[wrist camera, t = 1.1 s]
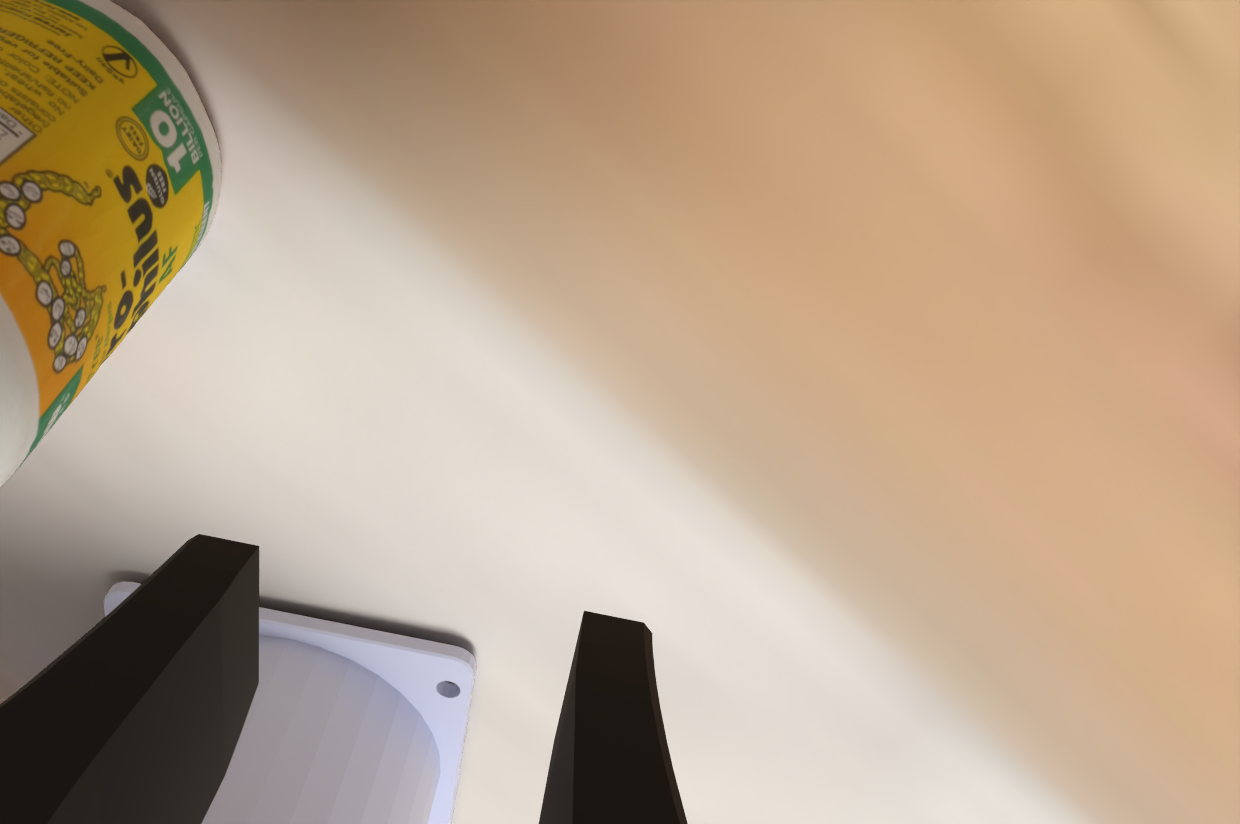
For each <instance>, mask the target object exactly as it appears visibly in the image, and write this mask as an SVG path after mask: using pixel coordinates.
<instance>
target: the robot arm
mask: <svg viewBox="0 0 1240 824" xmlns="http://www.w3.org/2000/svg"><path fill="white" fill-rule="evenodd" d="M103 606H104V615H105V618H103V619H102V620H101V621H100V622H99V623H98V624H97V625H96V626H95V627H93V628H92V629H91V630H90V631H89V632H88V633H86V634H85V635H84V636H83V637H82V638H80V639H79V640H78V641H77V642H76V643H75V644H73V645H72V646H71V647H70V648H69V649H67V650H66V651H65V652H64V653H63V654H62V655H60V656H59V657H58V658H57V659H56V660H54V661H53V662H52V663H51V664H50V665H48V666H47V667H46V668H45V669H44V670H43V671H41V672H40V673H39V674H38V675H37V676H35V677H34V678H33V679H32V680H31V681H29V682H28V683H27V684H26V685H24V686H23V687H22V688H21V689H19V690H18V691H17V692H16V693H14V694H13V695H12V696H11V697H9V698H8V699H7V700H5V701H4V702H3V703H1V704H0V824H451V823H452V817H453V810H454V804H455V798H456V792H457V785H458V779H459V773H460V767H461V761H462V754H463V748H464V742H465V736H466V730H467V723H468V717H469V711H470V705H471V699H472V692H473V686H474V680H475V674H476V667H477V665H476V659H475V658H474V657H473V655H472V654H471V653H470V652H468V651H467V650H465V649H464V648H461V647H458V646H454V645H449V644H444V643H439V642H434V641H429V640H424V639H418V638H413V637H408V636H403V635H398V634H393V633H388V632H383V631H378V630H373V629H368V628H363V627H358V626H353V625H348V624H343V623H338V622H333V621H327V620H322V619H317V618H312V617H307V616H302V615H297V614H292V613H287V612H282V611H277V610H272V609H267V608H262V607H259V546H256V545H251V544H246V543H241V542H236V541H231V540H226V539H221V538H216V537H211V536H206V535H201V534H198V535H197V536H195V537H193V538H191V539H190V540H188V541H187V542H186V543H185V544H184V545H183V546H182V547H181V548H180V549H178V550H177V551H176V552H175V553H174V554H173V555H172V556H171V557H170V558H169V559H168V560H167V561H166V562H165V563H164V564H163V565H162V566H161V567H159V568H158V569H157V570H156V571H155V572H154V573H153V574H152V575H151V576H150V577H149V578H148V579H147V580H146V581H144V582H143V583H142V584H140V583H135V582H125V581H122V582H119V583H115V584H114V585H113V586H112V587H111V588H110V590H109V591H108V593H107V594H106V596H105V598H104V603H103ZM445 681H450V682H453V683H455V684H450V683H448V682H445ZM539 824H687V820H686V817H685V813H684V809H683V805H682V801H681V798H680V794H679V790H678V786H677V782H676V778H675V775H674V771H673V767H672V762H671V758H670V754H669V749H668V745H667V740H666V735H665V730H664V725H663V720H662V714H661V709H660V704H659V697H658V691H657V685H656V677H655V669H654V659H653V647H652V633H651V631H650V630H649V629H648V627H647V626H646V625H645V624H644V623H642V622H637V621H632V620H627V619H622V618H617V617H612V616H607V615H602V614H597V613H592V612H587V611H584V614H583V618H582V622H581V627H580V631H579V635H578V640H577V644H576V648H575V653H574V657H573V661H572V666H571V670H570V675H569V679H568V683H567V688H566V692H565V696H564V701H563V705H562V709H561V714H560V718H559V722H558V727H557V731H556V735H555V740H554V745H553V750H552V756H551V761H550V766H549V772H548V777H547V783H546V788H545V793H544V799H543V804H542V810H541V815H540V821H539Z"/></svg>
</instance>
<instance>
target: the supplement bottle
mask: <svg viewBox="0 0 1240 824" xmlns="http://www.w3.org/2000/svg"><path fill="white" fill-rule="evenodd" d="M221 176H222V169H221V158H220V149H219V146H218V143H217V140H216V136H215V133H214V130H213V127H212V125H211V122H210V120H209V118H208V116H207V113H206V111H205V109H204V106H203V104H202V102H201V100H200V97H199V95H198V93H197V91H196V89H195V87H194V86H193V84H192V82H191V80H190V78H189V76H188V74H187V72H186V71H185V69H184V68H183V66H182V65H181V64H180V62H179V61H178V59H177V58H176V57H175V56H174V55H173V54H172V53H171V51H170V50H169V49H168V48H167V47H166V46H165V45H164V43H163V42H162V41H161V40H160V39H159V38H158V37H157V36H156V35H155V34H154V33H153V32H152V31H151V30H150V29H149V28H148V27H147V26H146V25H145V24H144V23H143V22H142V21H141V20H140V19H138V18H137V17H135V16H134V15H132V14H131V13H129V12H128V11H126V10H124V9H123V8H121V7H120V6H118V5H117V4H115V3H113V2H112V1H110V0H0V487H1V486H2V485H3V484H4V483H5V482H6V481H7V480H8V479H9V477H10V476H11V475H12V474H13V473H14V472H15V471H16V470H17V469H18V468H19V467H20V466H21V464H22V463H23V462H24V460H25V459H26V458H27V456H28V455H29V454H30V453H31V452H32V451H33V449H34V448H35V447H36V446H37V445H38V443H39V442H40V441H41V440H42V438H43V437H44V436H45V435H46V433H47V432H48V431H49V430H50V429H51V427H52V426H53V425H54V424H55V422H56V421H57V420H58V418H59V417H60V416H61V415H62V413H63V412H64V411H65V410H66V409H67V407H68V406H69V405H70V404H71V403H72V401H73V400H74V399H75V398H76V397H77V395H78V394H79V393H80V392H81V390H82V389H83V388H84V387H85V385H86V384H87V383H88V382H89V380H90V379H91V378H92V377H93V375H94V374H95V373H96V371H97V370H98V368H99V367H100V365H101V364H102V363H103V362H104V361H105V360H106V359H107V358H108V357H109V356H110V354H111V353H112V352H113V351H114V350H115V349H116V347H117V346H118V345H119V344H120V343H121V342H122V340H123V339H124V338H125V336H126V335H127V333H128V332H129V331H130V330H131V329H132V328H133V327H134V325H135V324H136V322H137V321H138V320H139V319H140V318H141V317H142V315H143V314H144V313H145V312H146V311H147V309H148V308H149V307H150V306H151V305H152V303H153V302H154V301H155V299H156V298H157V297H158V296H159V295H160V293H161V292H162V291H163V290H164V289H165V287H166V286H167V285H168V284H169V283H170V282H171V280H172V279H173V278H174V277H175V275H176V274H177V273H178V272H179V270H180V269H181V268H182V267H183V266H184V265H185V263H186V262H187V261H188V259H189V258H190V257H191V256H192V254H193V253H194V252H195V251H196V250H197V248H198V247H199V246H200V244H201V243H202V241H203V240H204V238H205V236H206V234H207V233H208V231H209V229H210V226H211V224H212V221H213V219H214V216H215V213H216V210H217V206H218V203H219V196H220V188H221Z"/></svg>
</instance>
